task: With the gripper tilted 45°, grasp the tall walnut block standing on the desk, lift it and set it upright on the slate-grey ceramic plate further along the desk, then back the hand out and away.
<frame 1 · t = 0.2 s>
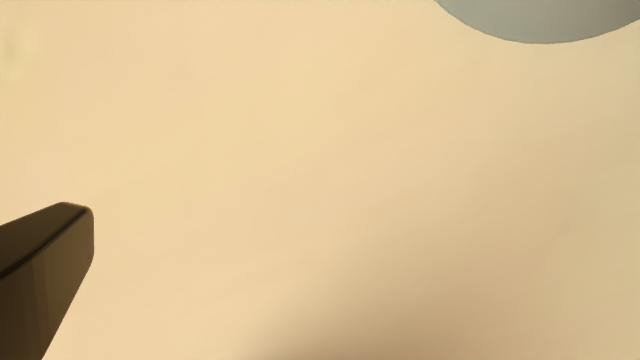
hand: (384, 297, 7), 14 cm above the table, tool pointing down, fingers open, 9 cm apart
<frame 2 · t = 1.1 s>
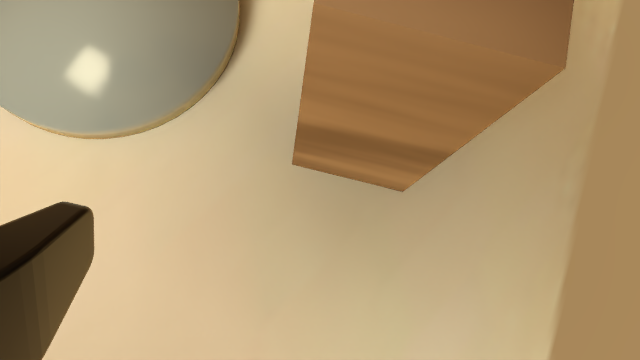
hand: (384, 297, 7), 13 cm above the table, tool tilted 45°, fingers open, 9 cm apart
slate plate: (105, 11, 22), on the table
walnut block: (359, 125, 22), on the table
when the fingers open (9 cm above the table, at t = 8.8 s): walnut block drops 1 cm, resting on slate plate.
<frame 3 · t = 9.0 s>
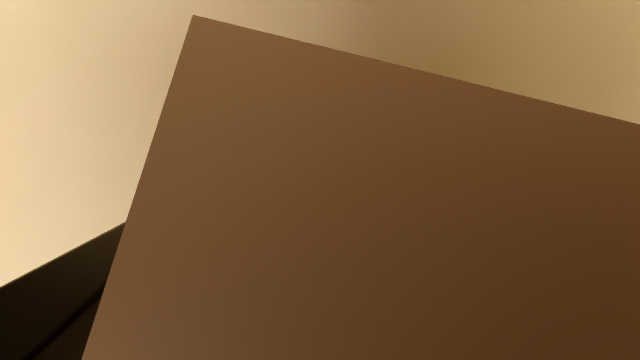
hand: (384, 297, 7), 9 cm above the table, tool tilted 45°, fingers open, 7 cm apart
walnut block: (319, 342, 15), point 1 cm above the table, touching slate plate
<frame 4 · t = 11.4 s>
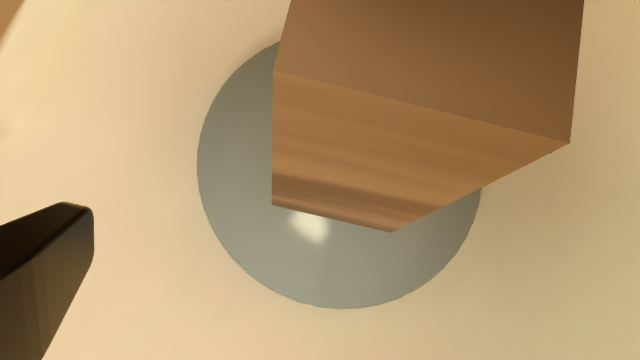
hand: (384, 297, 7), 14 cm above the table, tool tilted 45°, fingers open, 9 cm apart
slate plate: (339, 168, 22), on the table
walnut block: (343, 161, 21), point 1 cm above the table, touching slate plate
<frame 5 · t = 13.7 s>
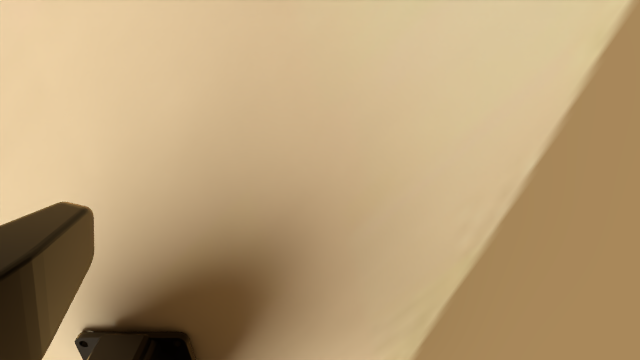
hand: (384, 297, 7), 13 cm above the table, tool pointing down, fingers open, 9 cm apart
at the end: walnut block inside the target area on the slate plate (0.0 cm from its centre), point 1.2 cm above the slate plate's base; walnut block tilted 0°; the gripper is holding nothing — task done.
